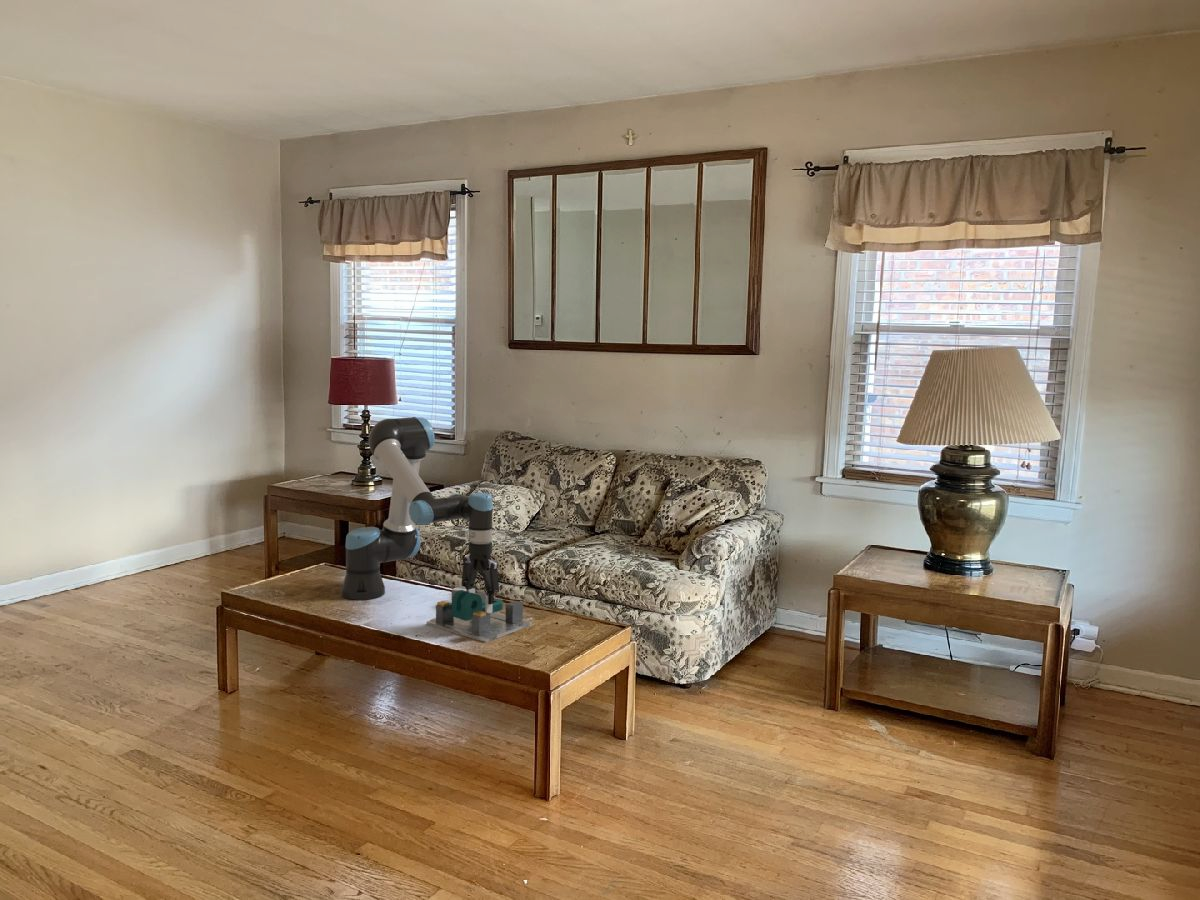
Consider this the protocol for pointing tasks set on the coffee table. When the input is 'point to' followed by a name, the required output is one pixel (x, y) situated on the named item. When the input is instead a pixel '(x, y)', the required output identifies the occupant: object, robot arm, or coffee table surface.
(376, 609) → the coffee table surface
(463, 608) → the bracket
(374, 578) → the robot arm
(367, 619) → the coffee table surface
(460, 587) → the block
